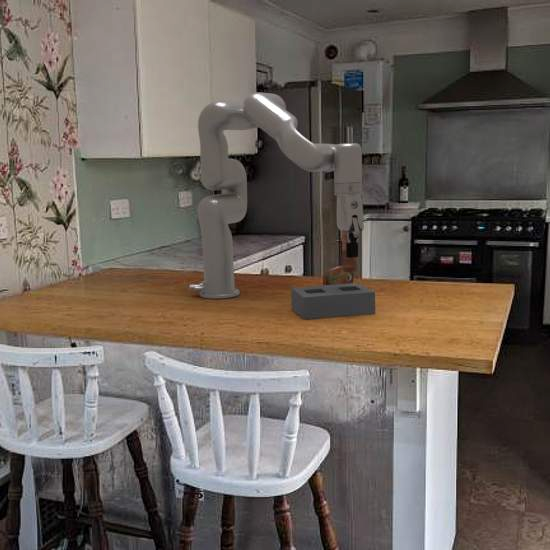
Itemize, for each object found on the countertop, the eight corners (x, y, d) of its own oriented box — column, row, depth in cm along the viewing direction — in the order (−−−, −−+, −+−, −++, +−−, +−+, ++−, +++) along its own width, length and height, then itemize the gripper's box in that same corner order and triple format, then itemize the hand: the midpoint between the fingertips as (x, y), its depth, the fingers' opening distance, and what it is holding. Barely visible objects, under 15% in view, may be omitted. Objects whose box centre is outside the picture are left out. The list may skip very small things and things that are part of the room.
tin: (329, 298, 211) (329, 270, 209) (321, 297, 212) (320, 270, 211) (354, 289, 222) (354, 263, 221) (345, 288, 224) (345, 263, 223)
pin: (345, 272, 190) (344, 228, 188) (340, 270, 194) (339, 227, 192) (359, 271, 191) (358, 227, 189) (354, 269, 195) (353, 226, 193)
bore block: (304, 319, 185) (303, 297, 184) (291, 308, 198) (291, 287, 197) (375, 313, 189) (375, 292, 188) (358, 303, 202) (357, 282, 201)
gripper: (372, 190, 181) (373, 259, 184) (351, 187, 197) (352, 251, 200) (344, 191, 180) (346, 261, 183) (326, 188, 196) (327, 253, 199)
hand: (349, 255), depth 192 cm, fingers closed on pin, 4 cm apart
